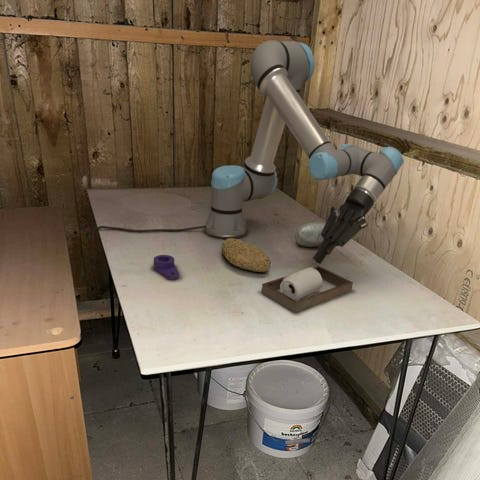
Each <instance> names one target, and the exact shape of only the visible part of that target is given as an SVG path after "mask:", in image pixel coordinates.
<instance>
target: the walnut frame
mask: <svg viewBox="0 0 480 480" xmlns="http://www.w3.org/2000/svg"><path fill="white" fill-rule="evenodd" d="M312 268H314V269H316V270H317V271H318V272H319V273H320V275H321V277H322V280H324V281H327V282H329V283H331V284H333V285H335V286H334V287H331V288H328V289H326V290H323V291H321V292H318V293H314V294H311V295H309V296H307V297H304V298H302V299H300V300H298V301H295V300H293V299H292V298H290V297H288V296H286V295H285V294H283V293H281V291H280V284H281V282H282V281H283V279H284V278H285V277H287V276H289V275H292V274H293V273H291V274H288V275H285V276H282V277H278V278H276V279H273V280H269V281H267V282H264V283H261V294H262V295H264V296H266V297H268V299H269V298H270V299H271V300H272V301H274V302H276V303H277V304H279V305H281V306H282V307H283V308H286V309H287V310H289V311H291V312H292V313H294V314H297V313H299V312H302V311H305V310H307V309H309V308H312V307H314V306H317V305H320V304H322V303H325V302H328V301H330V300H332V299H335V298H337V297H340V296H343V295H345V294H348V293H351V292H352V291H353V286H354V281H351V280H349V279H347V278H345V277H343V276H341V275H339V274H337V273H335V272H333V271H331V270H329V269H327V268H325V267H323V266H321V265H316V266H313V267H312Z"/></svg>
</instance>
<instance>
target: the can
mask: <svg viewBox="0 0 480 480" xmlns="http://www.w3.org/2000/svg"><path fill="white" fill-rule="evenodd" d="M291 274H292V275H291ZM291 274H288V275H289V276H288V275H286V276H287V277H285V276H284V277H285V278H284V279H283V281H282V282H281V284H280V289H279V291H280V292H281V293H283V294H285V295H286V296H288V297H290V298H292V299H293V300H295V301H299V300H301V299H304V298H307V297H310V296H312V295H314V294H316V293H317V292H318V291H320V290H321V288H322V287H323V278H322V277H321V275H320V273H319V272H318V271H317V270H316V269H314V268H313V267H310V266H309V267H306V268H304V269H301V270H299V271H296V272H294V273H291Z"/></svg>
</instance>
